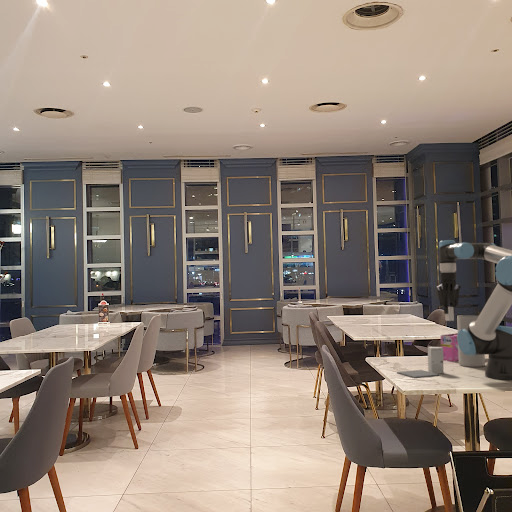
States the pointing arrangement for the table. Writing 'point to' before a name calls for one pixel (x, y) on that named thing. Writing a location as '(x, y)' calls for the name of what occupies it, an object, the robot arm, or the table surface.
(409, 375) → the mat
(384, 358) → the table surface
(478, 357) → the cylinder vase
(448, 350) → the gum box
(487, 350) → the robot arm
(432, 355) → the skincare box
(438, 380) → the table surface
